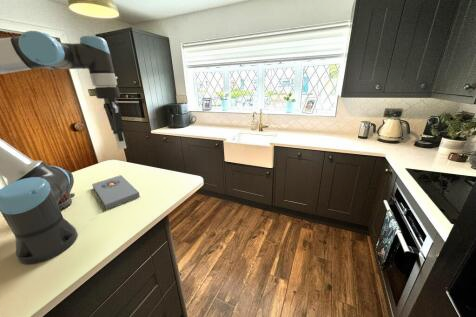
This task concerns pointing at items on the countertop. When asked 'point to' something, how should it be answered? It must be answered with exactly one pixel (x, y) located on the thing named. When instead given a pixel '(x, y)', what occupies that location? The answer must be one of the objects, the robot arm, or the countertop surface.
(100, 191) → the plate
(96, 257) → the countertop surface
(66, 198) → the mug
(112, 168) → the countertop surface
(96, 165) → the countertop surface
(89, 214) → the countertop surface
